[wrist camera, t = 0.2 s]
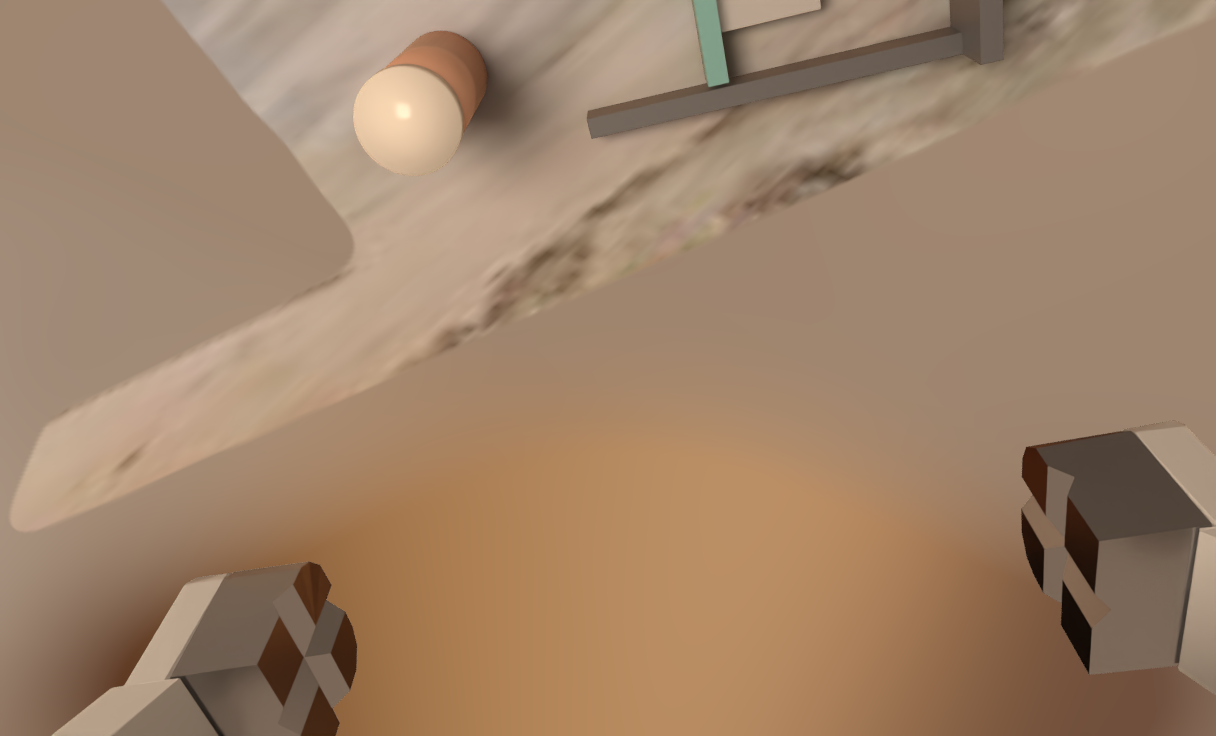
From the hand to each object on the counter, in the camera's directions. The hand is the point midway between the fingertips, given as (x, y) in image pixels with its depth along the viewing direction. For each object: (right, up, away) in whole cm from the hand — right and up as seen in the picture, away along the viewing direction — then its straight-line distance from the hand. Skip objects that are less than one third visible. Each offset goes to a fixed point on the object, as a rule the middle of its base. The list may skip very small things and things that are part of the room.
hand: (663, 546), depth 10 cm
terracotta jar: (-11, +20, +44) cm, 49 cm away
